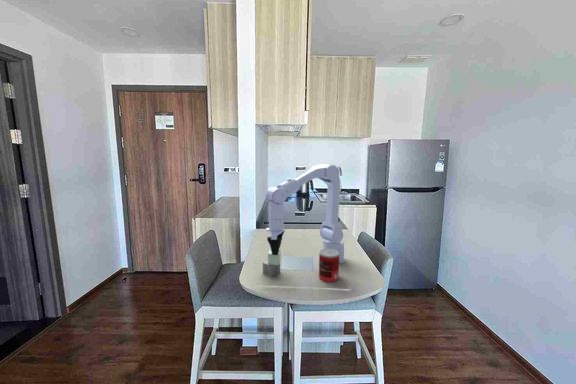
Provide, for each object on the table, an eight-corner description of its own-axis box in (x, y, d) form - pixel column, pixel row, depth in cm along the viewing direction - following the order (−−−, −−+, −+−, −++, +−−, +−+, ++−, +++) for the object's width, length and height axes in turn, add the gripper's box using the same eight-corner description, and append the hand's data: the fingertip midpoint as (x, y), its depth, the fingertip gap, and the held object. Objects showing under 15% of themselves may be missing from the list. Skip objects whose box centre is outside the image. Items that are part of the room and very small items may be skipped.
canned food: (336, 273, 111) (337, 248, 109) (340, 283, 103) (341, 256, 101) (317, 274, 110) (318, 248, 109) (320, 283, 102) (321, 256, 101)
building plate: (312, 258, 126) (312, 257, 126) (313, 272, 112) (313, 270, 112) (282, 257, 127) (282, 256, 127) (279, 270, 113) (279, 269, 113)
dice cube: (262, 274, 110) (262, 262, 110) (272, 270, 114) (271, 258, 113) (271, 278, 107) (270, 266, 106) (280, 274, 110) (280, 262, 110)
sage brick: (280, 260, 112) (280, 249, 111) (279, 264, 107) (279, 254, 106) (269, 260, 112) (269, 249, 111) (268, 264, 108) (267, 253, 107)
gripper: (268, 213, 114) (269, 244, 116) (262, 222, 100) (263, 257, 102) (285, 213, 113) (285, 244, 115) (282, 223, 99) (282, 258, 101)
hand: (276, 251), depth 109 cm, fingers open, 7 cm apart
